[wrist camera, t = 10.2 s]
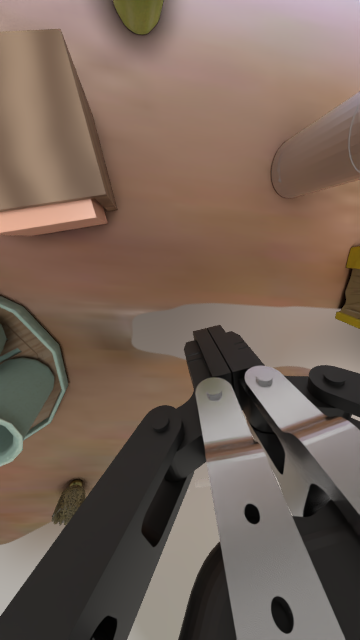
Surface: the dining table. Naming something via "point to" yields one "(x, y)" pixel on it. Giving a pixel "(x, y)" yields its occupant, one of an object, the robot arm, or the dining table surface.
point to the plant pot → (139, 14)
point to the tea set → (26, 378)
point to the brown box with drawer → (46, 126)
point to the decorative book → (352, 292)
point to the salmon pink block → (52, 218)
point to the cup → (69, 502)
